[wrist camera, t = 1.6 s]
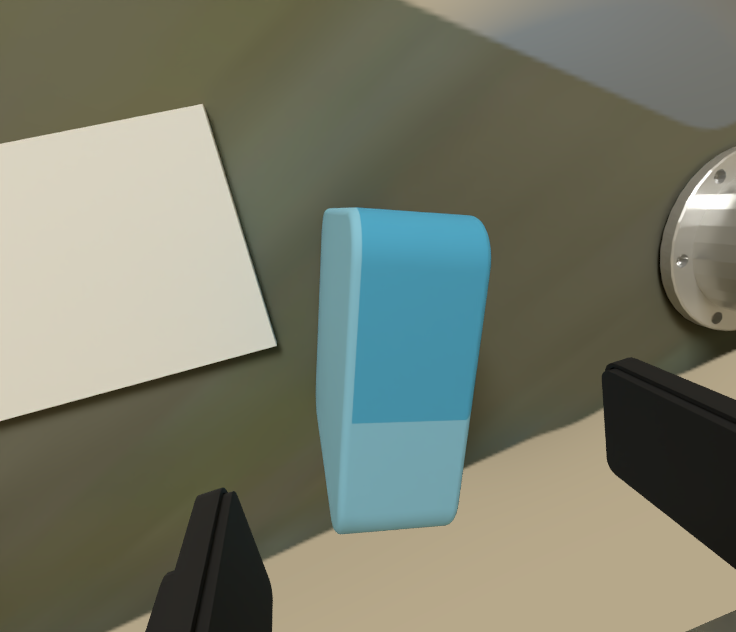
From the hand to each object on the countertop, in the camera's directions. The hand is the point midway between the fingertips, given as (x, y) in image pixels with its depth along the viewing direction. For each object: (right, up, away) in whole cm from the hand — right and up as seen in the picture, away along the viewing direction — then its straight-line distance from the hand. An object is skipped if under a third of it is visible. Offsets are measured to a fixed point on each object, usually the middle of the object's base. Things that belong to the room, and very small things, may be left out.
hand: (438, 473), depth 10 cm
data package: (-2, +4, +15) cm, 16 cm away
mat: (-17, +6, +12) cm, 22 cm away
